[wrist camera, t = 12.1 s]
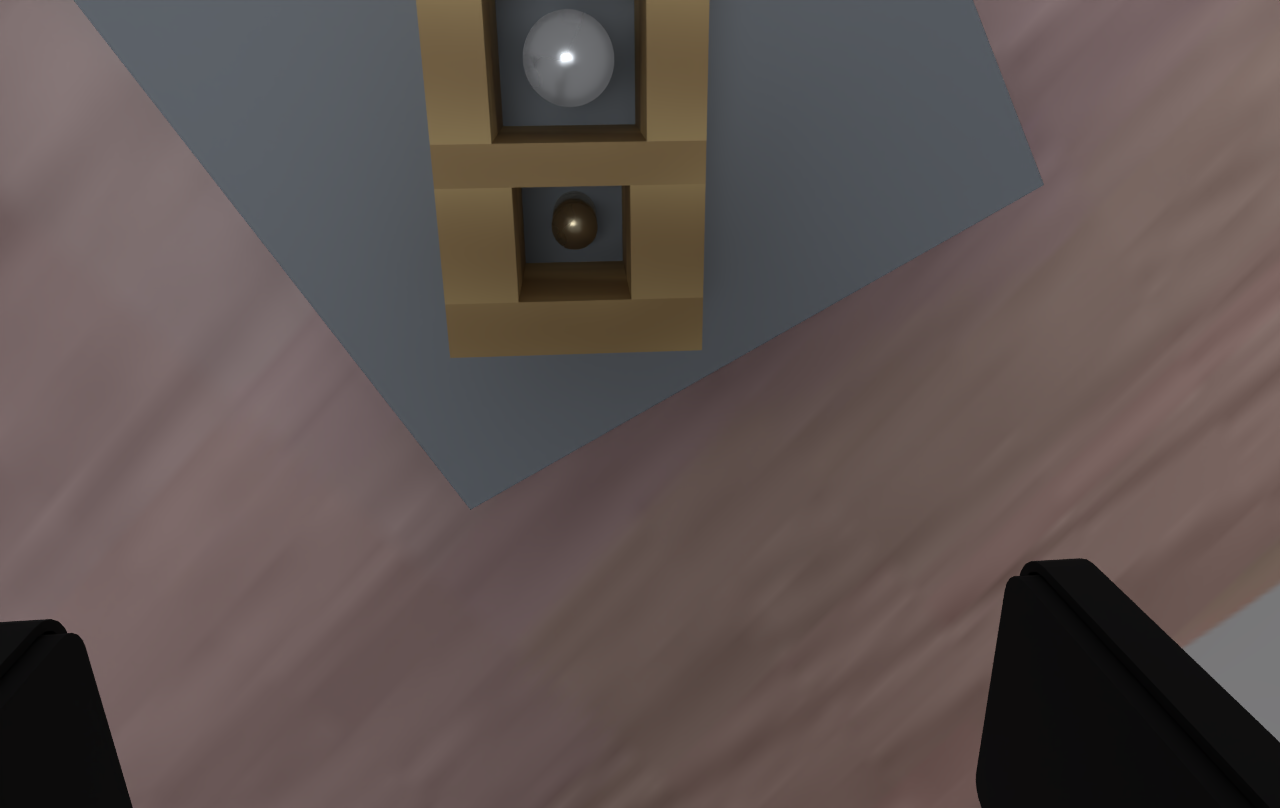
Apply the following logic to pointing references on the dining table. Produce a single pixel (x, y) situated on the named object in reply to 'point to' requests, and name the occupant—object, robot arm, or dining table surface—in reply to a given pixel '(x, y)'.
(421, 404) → the slate board
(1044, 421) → the dining table surface
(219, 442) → the dining table surface
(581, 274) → the tan slatted rectangular block
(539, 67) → the pegs
